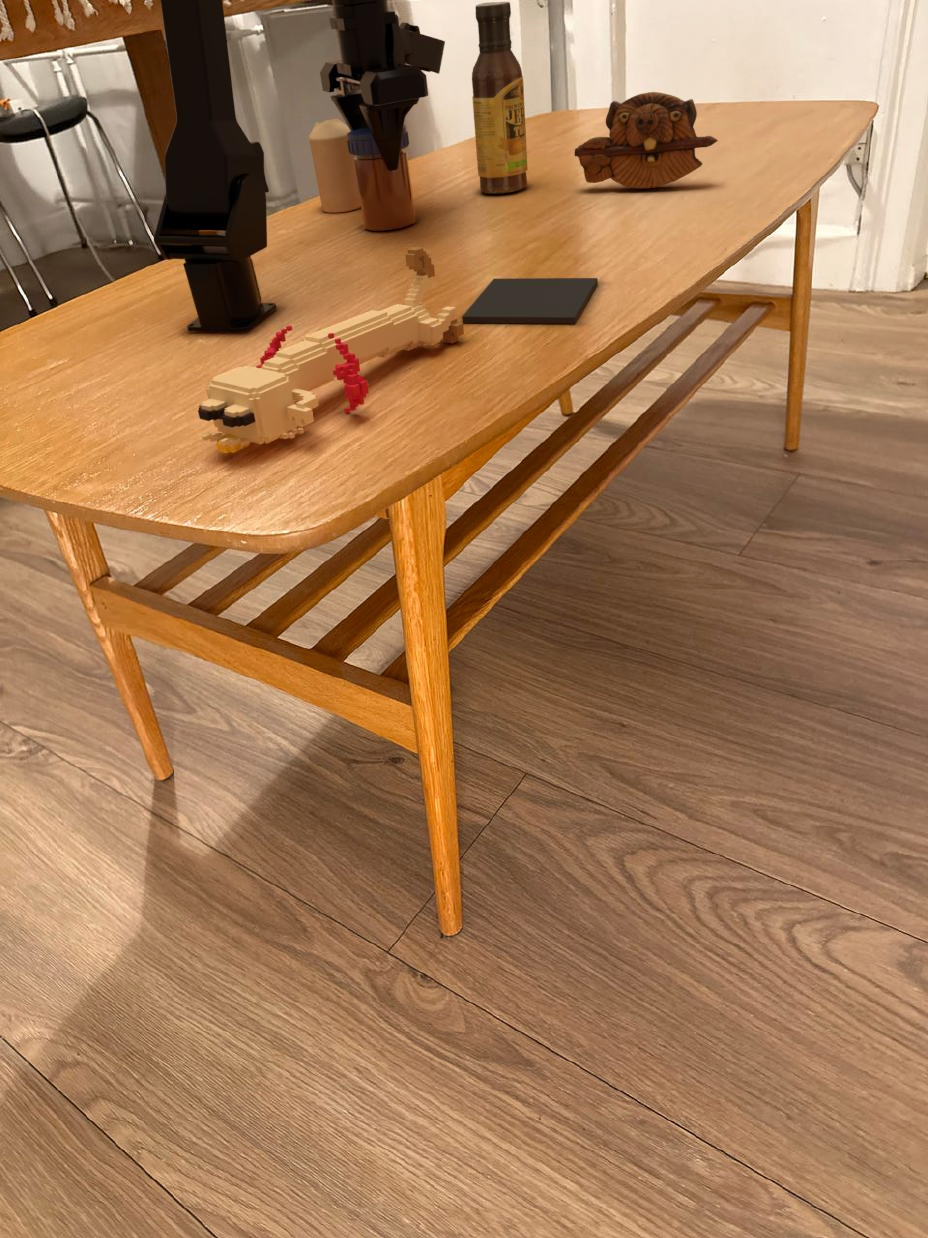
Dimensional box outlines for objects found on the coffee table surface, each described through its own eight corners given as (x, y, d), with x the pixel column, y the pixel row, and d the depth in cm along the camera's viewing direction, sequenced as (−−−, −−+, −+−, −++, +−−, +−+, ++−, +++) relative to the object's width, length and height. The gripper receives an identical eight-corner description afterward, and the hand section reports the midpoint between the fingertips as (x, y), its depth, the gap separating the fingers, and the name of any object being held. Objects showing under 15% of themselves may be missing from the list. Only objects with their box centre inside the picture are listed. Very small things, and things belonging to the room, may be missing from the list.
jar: (405, 229, 105) (393, 142, 100) (356, 231, 107) (341, 145, 102) (423, 216, 110) (412, 131, 105) (376, 218, 112) (363, 135, 107)
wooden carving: (573, 197, 110) (570, 103, 104) (578, 187, 113) (576, 95, 107) (714, 190, 106) (720, 91, 100) (715, 180, 109) (721, 84, 103)
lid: (403, 140, 107) (401, 121, 106) (414, 148, 102) (411, 128, 101) (346, 149, 106) (342, 130, 105) (353, 158, 101) (349, 138, 100)
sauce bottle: (518, 196, 113) (506, 3, 101) (472, 196, 115) (455, 8, 103) (536, 182, 118) (526, -3, 106) (491, 183, 120) (476, 1, 108)
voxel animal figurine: (393, 342, 81) (168, 441, 65) (383, 238, 76) (137, 316, 60) (485, 359, 76) (266, 470, 60) (480, 248, 71) (240, 336, 55)
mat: (574, 324, 77) (574, 317, 77) (462, 323, 80) (461, 316, 80) (597, 284, 84) (597, 277, 84) (494, 284, 87) (493, 278, 87)
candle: (357, 211, 115) (343, 123, 109) (316, 214, 117) (300, 126, 111) (369, 200, 120) (356, 114, 114) (330, 202, 121) (314, 117, 115)
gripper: (466, -7, 91) (479, 164, 100) (399, -8, 105) (417, 142, 114) (361, 8, 88) (385, 183, 97) (307, 5, 102) (332, 158, 111)
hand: (382, 165), depth 105 cm, fingers closed on lid, 6 cm apart
